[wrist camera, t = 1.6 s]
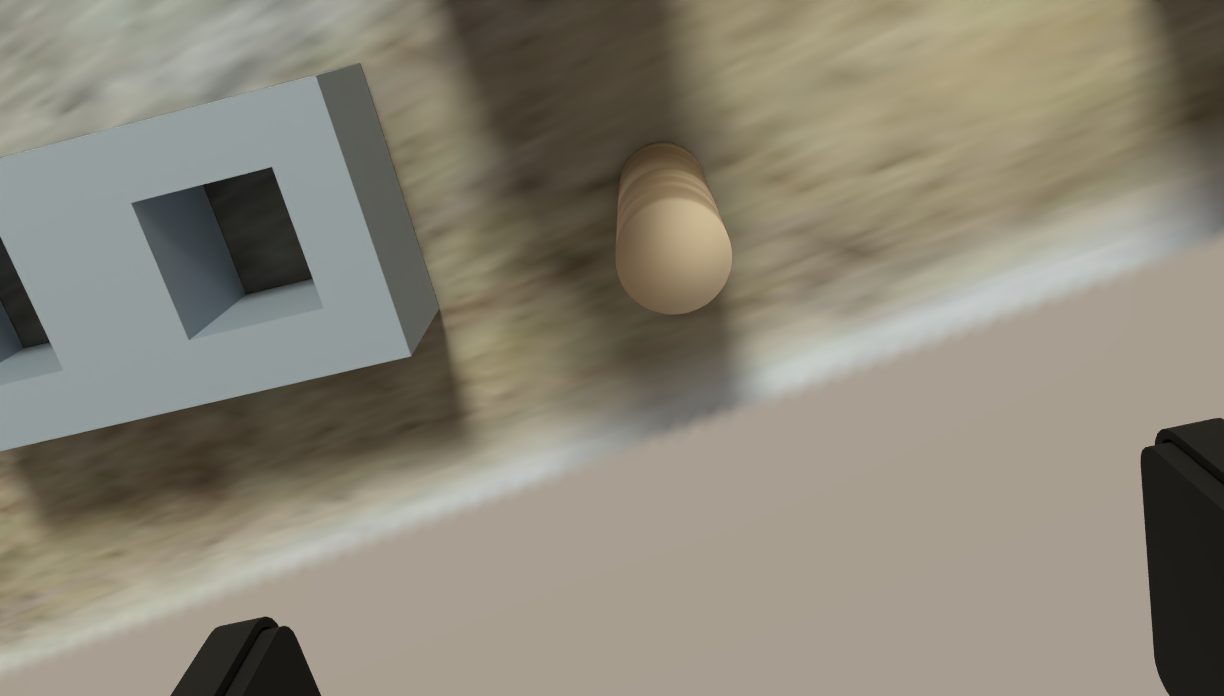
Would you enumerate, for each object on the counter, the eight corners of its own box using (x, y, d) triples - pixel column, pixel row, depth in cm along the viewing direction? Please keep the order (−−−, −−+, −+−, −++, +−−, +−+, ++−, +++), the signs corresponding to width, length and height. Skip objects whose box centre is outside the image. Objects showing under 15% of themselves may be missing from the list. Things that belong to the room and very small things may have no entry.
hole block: (360, 63, 33) (315, 75, 29) (439, 308, 36) (411, 356, 32) (-117, 188, 35) (-232, 219, 30) (-3, 412, 38) (-92, 472, 33)
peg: (694, 132, 34) (719, 188, 24) (712, 216, 35) (742, 299, 25) (609, 153, 34) (602, 216, 25) (630, 235, 35) (630, 325, 26)
